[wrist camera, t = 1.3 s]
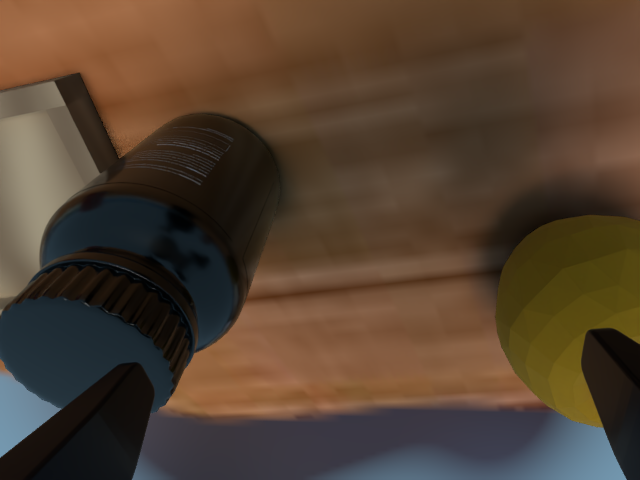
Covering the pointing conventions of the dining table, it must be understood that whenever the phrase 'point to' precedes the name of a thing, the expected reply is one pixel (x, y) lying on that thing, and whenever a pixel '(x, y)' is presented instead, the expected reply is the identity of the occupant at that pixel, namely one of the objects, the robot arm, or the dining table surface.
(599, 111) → the dining table surface
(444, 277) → the dining table surface
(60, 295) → the supplement bottle
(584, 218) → the apple
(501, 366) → the dining table surface
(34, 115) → the metal tray
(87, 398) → the robot arm
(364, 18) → the dining table surface
